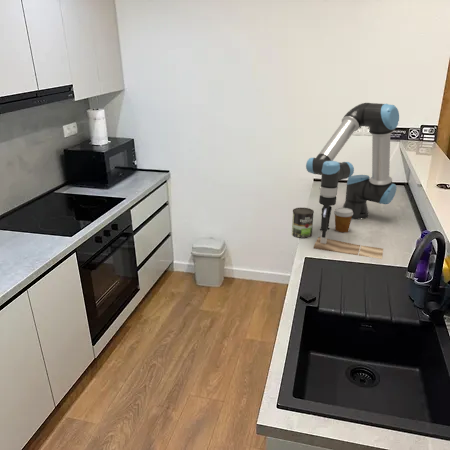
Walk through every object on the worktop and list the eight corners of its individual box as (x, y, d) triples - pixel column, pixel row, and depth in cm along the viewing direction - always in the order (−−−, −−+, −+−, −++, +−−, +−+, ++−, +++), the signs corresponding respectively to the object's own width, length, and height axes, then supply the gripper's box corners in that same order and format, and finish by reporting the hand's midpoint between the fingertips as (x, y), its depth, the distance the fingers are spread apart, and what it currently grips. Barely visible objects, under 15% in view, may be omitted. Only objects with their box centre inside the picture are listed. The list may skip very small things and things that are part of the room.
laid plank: (360, 247, 204) (360, 245, 204) (383, 250, 201) (383, 248, 200) (357, 257, 194) (357, 255, 194) (381, 261, 190) (381, 258, 190)
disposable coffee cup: (353, 231, 224) (356, 209, 220) (347, 236, 217) (349, 214, 213) (336, 227, 229) (338, 206, 225) (329, 233, 222) (331, 211, 218)
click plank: (318, 239, 211) (318, 236, 211) (360, 247, 204) (360, 245, 204) (313, 248, 201) (313, 246, 200) (357, 257, 194) (357, 255, 194)
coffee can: (315, 239, 214) (317, 212, 209) (296, 241, 211) (298, 214, 206) (306, 232, 223) (307, 206, 218) (288, 234, 221) (289, 208, 216)
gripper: (322, 190, 203) (318, 236, 211) (317, 198, 191) (312, 246, 200) (338, 192, 200) (333, 239, 208) (334, 200, 189) (329, 249, 197)
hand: (323, 242), depth 204 cm, fingers closed
